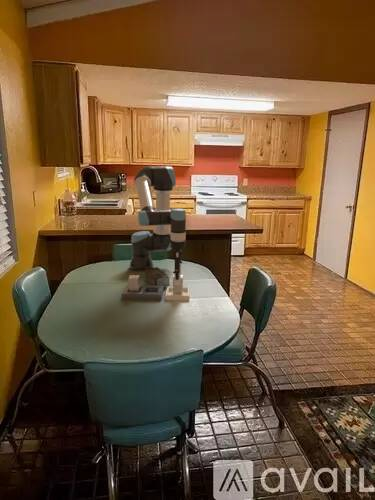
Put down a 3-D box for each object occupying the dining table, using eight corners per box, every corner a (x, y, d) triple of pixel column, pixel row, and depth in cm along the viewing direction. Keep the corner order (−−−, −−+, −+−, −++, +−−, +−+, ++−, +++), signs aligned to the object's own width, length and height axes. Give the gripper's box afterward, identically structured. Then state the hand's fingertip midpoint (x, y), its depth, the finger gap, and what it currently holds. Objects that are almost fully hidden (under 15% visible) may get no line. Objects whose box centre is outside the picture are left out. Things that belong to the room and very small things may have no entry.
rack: (126, 290, 182) (126, 285, 182) (163, 291, 182) (163, 285, 181) (121, 299, 171) (121, 293, 170) (161, 300, 171) (161, 294, 170)
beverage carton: (156, 289, 185) (156, 277, 184) (145, 278, 202) (144, 267, 200) (169, 287, 188) (169, 275, 187) (157, 276, 205) (157, 266, 204)
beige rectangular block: (130, 293, 179) (130, 275, 176) (140, 293, 179) (139, 275, 176) (129, 296, 174) (128, 278, 172) (138, 296, 174) (138, 278, 172)
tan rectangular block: (173, 292, 178) (173, 274, 176) (182, 292, 178) (183, 274, 176) (172, 296, 174) (172, 277, 171) (182, 296, 174) (182, 278, 171)
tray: (167, 291, 182) (167, 286, 181) (189, 291, 182) (189, 286, 181) (165, 300, 171) (165, 295, 170) (189, 300, 170) (189, 295, 170)
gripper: (172, 234, 181) (172, 272, 186) (168, 246, 157) (168, 289, 162) (186, 234, 180) (185, 272, 186) (184, 246, 156) (184, 289, 162)
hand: (177, 280), depth 174 cm, fingers open, 13 cm apart
